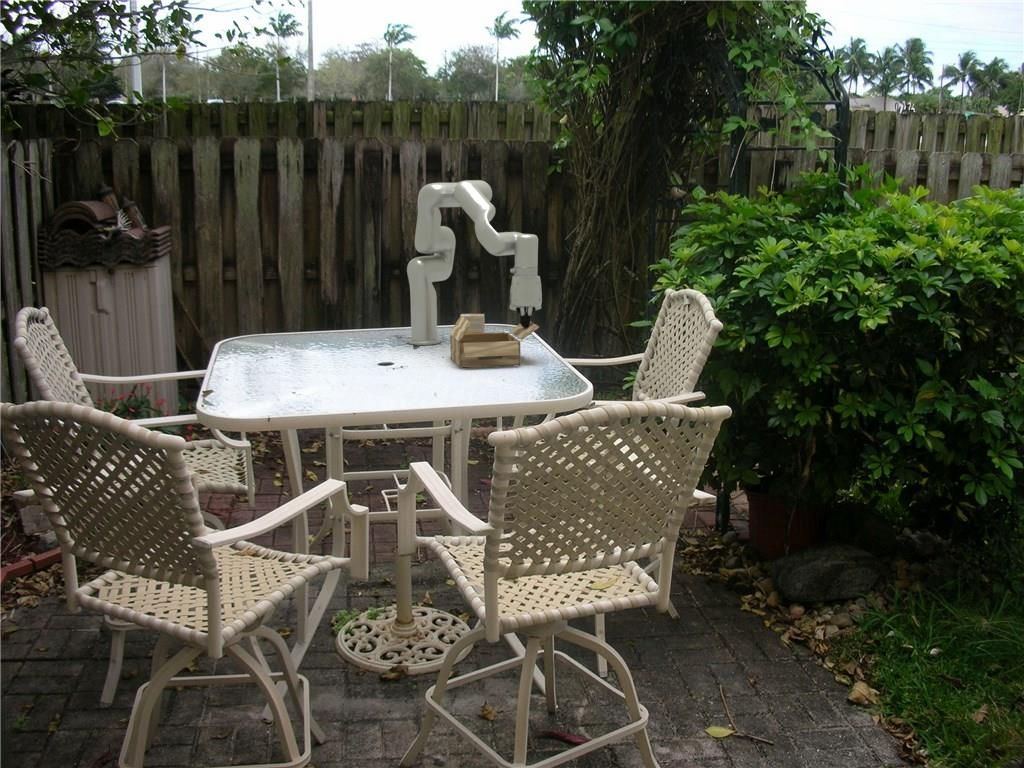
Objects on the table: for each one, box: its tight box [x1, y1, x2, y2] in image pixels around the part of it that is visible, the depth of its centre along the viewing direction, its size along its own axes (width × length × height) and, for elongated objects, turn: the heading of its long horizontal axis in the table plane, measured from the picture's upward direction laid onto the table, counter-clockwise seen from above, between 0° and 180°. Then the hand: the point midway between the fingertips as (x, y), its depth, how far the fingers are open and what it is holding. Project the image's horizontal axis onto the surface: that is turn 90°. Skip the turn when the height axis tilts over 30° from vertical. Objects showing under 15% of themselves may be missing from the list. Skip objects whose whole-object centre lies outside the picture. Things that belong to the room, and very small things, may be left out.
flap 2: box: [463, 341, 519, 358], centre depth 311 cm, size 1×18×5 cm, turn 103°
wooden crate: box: [449, 332, 521, 369], centre depth 321 cm, size 17×20×8 cm
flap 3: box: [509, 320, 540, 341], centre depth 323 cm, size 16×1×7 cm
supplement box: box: [459, 313, 486, 333], centre depth 339 cm, size 8×5×13 cm, turn 84°
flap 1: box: [449, 315, 471, 342], centre depth 318 cm, size 16×1×7 cm
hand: (525, 326), depth 323 cm, fingers closed
